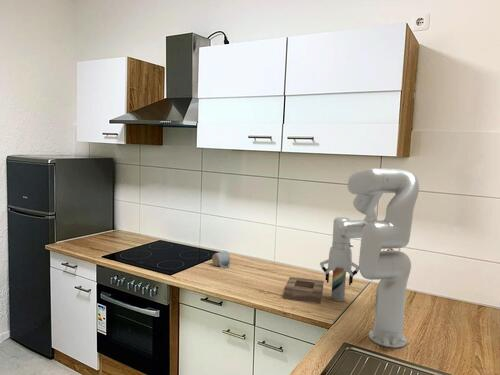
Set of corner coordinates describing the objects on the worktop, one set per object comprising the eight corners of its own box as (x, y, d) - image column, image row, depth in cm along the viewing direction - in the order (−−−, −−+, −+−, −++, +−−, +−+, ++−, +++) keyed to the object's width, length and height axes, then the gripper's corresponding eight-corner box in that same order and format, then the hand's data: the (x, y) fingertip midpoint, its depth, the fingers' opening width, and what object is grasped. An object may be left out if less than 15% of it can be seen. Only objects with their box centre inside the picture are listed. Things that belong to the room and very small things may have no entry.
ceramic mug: (210, 264, 216) (211, 251, 215) (222, 262, 221) (223, 249, 220) (221, 269, 208) (222, 256, 207) (233, 267, 213) (234, 253, 212)
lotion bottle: (334, 295, 175) (337, 252, 173) (346, 299, 171) (349, 255, 169) (328, 299, 170) (331, 255, 169) (340, 302, 167) (343, 257, 165)
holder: (320, 303, 165) (321, 292, 164) (283, 298, 169) (284, 287, 168) (323, 291, 180) (323, 280, 180) (289, 286, 184) (289, 276, 184)
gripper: (361, 245, 170) (358, 282, 172) (321, 241, 174) (319, 278, 176) (361, 249, 163) (359, 288, 164) (320, 245, 167) (318, 283, 169)
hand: (338, 283), depth 170 cm, fingers open, 9 cm apart
